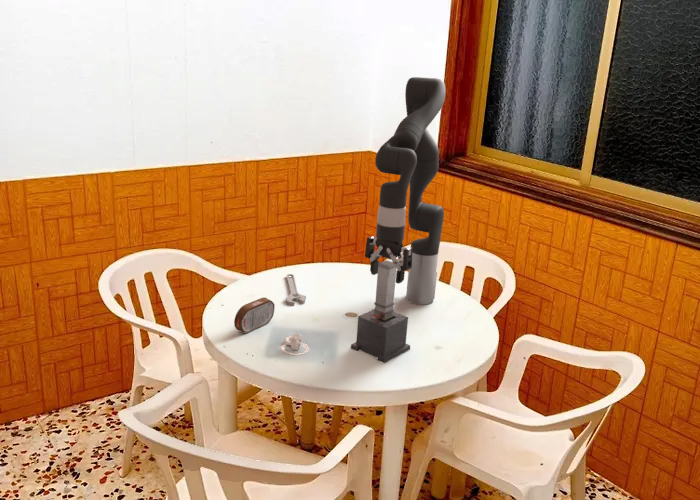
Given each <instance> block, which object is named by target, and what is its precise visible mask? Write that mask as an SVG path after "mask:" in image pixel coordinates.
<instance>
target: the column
mask: <svg viewBox="0 0 700 500" xmlns="http://www.w3.org/2000/svg"><path fill="white" fill-rule="evenodd" d="M396 273H397V268H396V265H395V264H394V263H393V262H392V261H390V260H388V259H386V260H384V261H379V263H378V273H377V274H376V275H377V277H376V289H375V290H376V291H375V301H374V312H375V314H374V315H377V316H379V320H380V321H382V322H388V321H390V320H392V319H393V316H392V314H393V312H395V311H394V306H395V288H396Z"/></svg>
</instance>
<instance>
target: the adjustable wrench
mask: <svg viewBox="0 0 700 500" xmlns="http://www.w3.org/2000/svg"><path fill="white" fill-rule="evenodd" d="M289 276H291V277H289ZM286 281H288V282H287V286H288V285H289V286H288V290H289V289H290V290H289V292H290V293H289V294H288V296H286V298H285V303H286V305H288V306H291V307H294V306H295V302H298V303H300V304H301V305H304V304H305V303H306V298H307V296H306V295H304V294H300V293H299V292H298V289H297V288H298V287H297V284H296V280H295V275H294V274H293V273H292V274H289V273H288V274H286Z"/></svg>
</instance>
